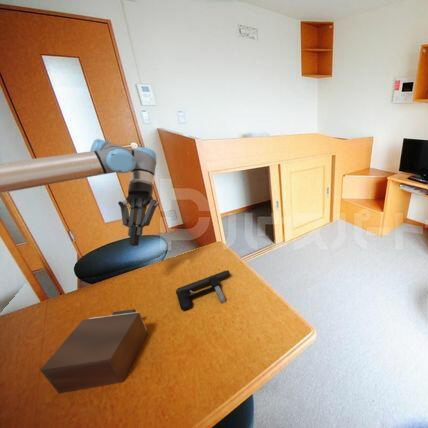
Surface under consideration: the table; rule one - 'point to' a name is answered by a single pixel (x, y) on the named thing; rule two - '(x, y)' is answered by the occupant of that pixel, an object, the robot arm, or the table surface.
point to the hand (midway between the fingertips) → (133, 244)
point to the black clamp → (215, 286)
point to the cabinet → (96, 353)
